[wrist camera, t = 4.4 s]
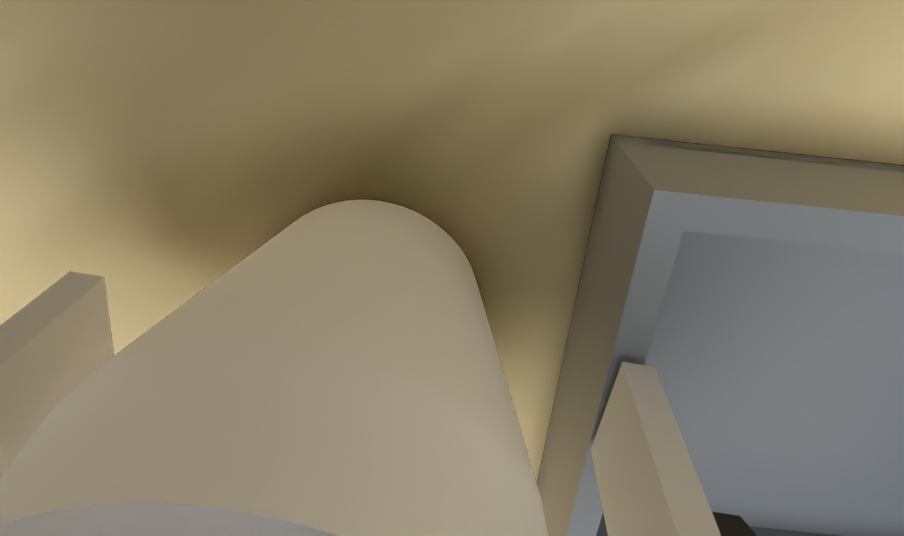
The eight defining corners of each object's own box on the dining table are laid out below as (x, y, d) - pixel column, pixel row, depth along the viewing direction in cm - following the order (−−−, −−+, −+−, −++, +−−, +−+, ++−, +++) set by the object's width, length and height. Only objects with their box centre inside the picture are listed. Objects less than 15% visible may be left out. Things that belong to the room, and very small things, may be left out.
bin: (610, 134, 16) (653, 190, 12) (1115, 187, 16) (1322, 260, 12) (532, 503, 22) (544, 621, 18) (902, 540, 22) (994, 666, 18)
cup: (461, 110, 16) (426, 395, 6) (553, 376, 20) (640, 860, 9) (168, 213, 18) (-298, 586, 7) (303, 442, 22) (127, 916, 11)
